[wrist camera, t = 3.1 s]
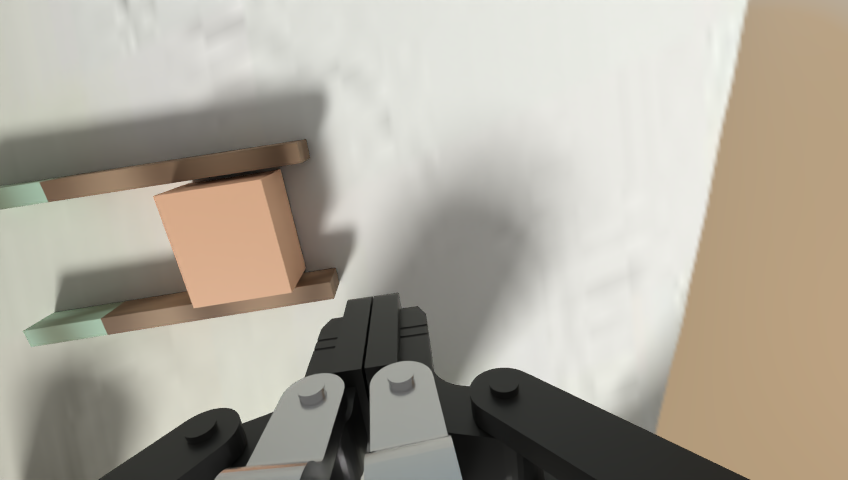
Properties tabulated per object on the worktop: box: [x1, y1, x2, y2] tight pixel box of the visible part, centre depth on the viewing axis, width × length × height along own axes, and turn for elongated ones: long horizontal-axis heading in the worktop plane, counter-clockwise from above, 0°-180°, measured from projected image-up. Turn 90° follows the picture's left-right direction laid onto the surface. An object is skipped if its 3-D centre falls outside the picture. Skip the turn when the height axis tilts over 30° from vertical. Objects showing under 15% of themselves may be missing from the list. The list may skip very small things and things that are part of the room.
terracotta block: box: [153, 169, 306, 308], centre depth 26 cm, size 6×7×4 cm
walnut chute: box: [0, 139, 339, 347], centre depth 26 cm, size 20×10×2 cm, turn 98°
